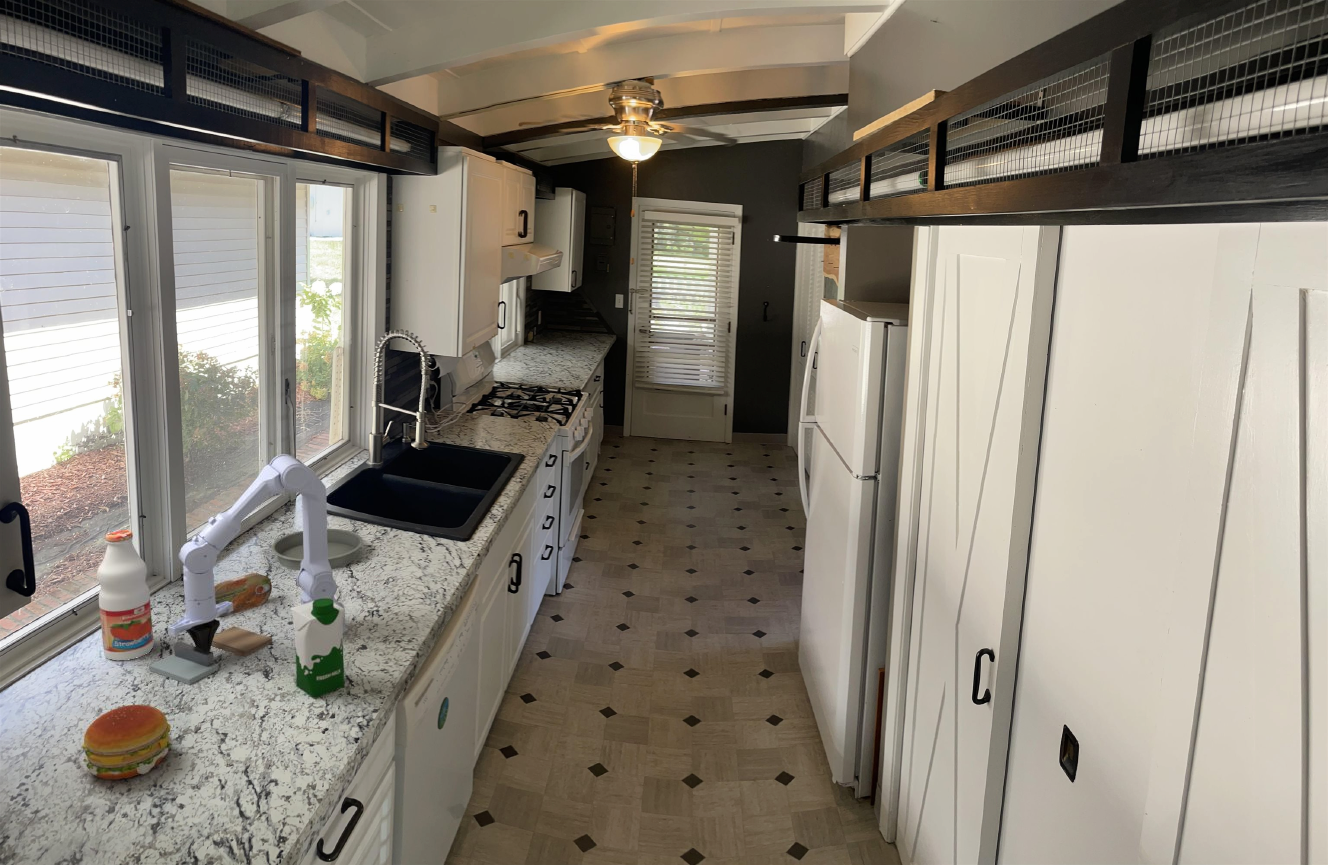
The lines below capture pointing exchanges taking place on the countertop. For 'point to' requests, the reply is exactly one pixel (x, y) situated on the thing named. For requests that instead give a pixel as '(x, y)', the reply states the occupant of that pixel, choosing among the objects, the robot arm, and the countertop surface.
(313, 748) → the countertop surface
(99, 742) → the burger
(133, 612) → the fruit juice
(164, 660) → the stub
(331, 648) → the milk carton
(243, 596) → the tin
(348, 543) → the cake pan
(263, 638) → the board
